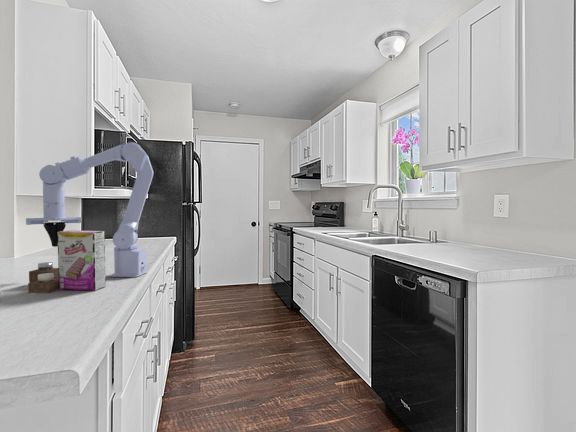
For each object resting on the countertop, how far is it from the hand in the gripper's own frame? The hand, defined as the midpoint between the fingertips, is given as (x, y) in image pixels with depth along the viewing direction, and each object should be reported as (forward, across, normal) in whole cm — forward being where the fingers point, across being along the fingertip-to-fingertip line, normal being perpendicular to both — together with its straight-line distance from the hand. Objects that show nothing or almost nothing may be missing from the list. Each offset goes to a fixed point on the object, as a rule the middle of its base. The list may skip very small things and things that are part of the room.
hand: (55, 246), depth 110 cm
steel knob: (+10, -4, -8) cm, 14 cm away
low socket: (+10, -6, -16) cm, 20 cm away
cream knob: (+10, -6, -16) cm, 20 cm away
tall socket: (+10, -4, -8) cm, 14 cm away
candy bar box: (+11, +2, -21) cm, 24 cm away
